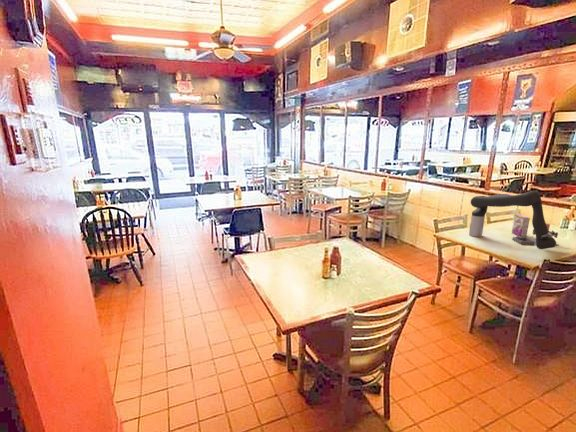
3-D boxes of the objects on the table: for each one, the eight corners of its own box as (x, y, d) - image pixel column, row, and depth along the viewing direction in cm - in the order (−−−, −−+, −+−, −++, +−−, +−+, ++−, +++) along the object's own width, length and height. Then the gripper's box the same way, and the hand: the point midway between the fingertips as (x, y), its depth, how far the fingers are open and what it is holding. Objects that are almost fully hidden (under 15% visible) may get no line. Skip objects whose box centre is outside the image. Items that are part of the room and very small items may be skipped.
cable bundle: (536, 240, 242) (539, 223, 238) (543, 240, 241) (546, 223, 238) (541, 242, 237) (544, 225, 233) (548, 242, 236) (551, 225, 233)
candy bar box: (511, 232, 263) (514, 214, 258) (517, 232, 262) (520, 214, 258) (520, 237, 252) (523, 217, 248) (526, 237, 252) (530, 217, 247)
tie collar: (510, 239, 248) (510, 236, 247) (523, 239, 247) (524, 236, 246) (520, 244, 236) (521, 241, 235) (534, 244, 235) (534, 241, 235)
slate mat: (526, 239, 247) (526, 238, 246) (545, 239, 246) (545, 238, 245) (539, 245, 233) (539, 244, 233) (558, 245, 232) (558, 244, 232)
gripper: (559, 233, 215) (558, 227, 227) (533, 230, 223) (533, 224, 236) (557, 243, 217) (556, 237, 229) (531, 239, 225) (532, 234, 238)
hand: (544, 230), depth 232 cm, fingers open, 8 cm apart
